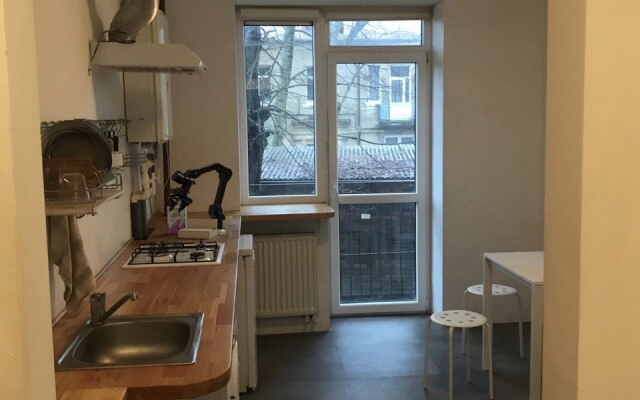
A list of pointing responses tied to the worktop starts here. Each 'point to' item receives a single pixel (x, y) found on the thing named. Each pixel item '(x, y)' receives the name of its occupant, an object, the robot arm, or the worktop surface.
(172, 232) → the candy bar box
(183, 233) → the small cream bookshelf
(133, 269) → the worktop surface
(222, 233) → the cream dish
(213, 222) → the flap
